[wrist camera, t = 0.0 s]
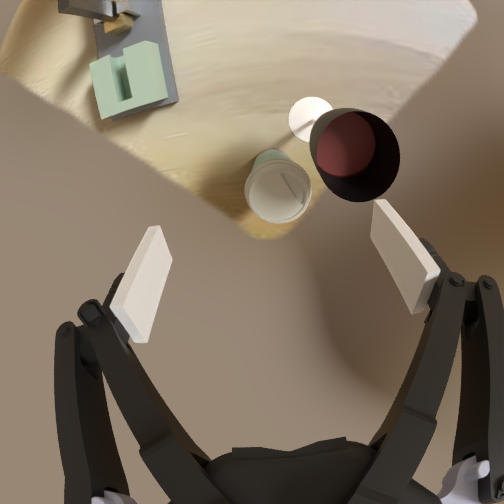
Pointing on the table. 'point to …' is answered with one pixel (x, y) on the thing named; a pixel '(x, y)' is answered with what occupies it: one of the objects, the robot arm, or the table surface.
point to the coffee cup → (277, 187)
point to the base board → (144, 28)
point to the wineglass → (347, 148)
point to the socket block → (128, 79)
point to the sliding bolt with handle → (99, 13)
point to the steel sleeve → (125, 9)
